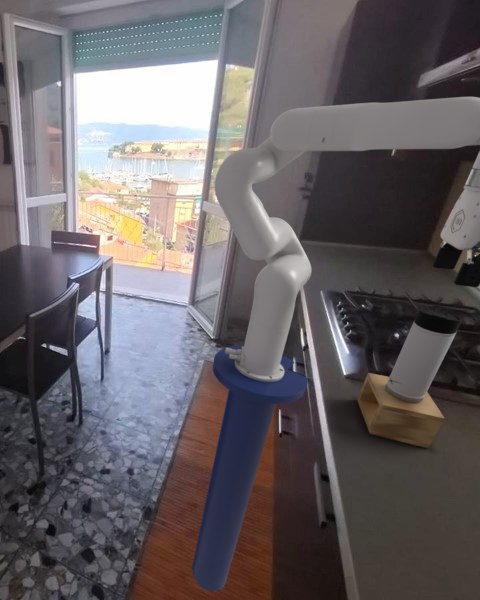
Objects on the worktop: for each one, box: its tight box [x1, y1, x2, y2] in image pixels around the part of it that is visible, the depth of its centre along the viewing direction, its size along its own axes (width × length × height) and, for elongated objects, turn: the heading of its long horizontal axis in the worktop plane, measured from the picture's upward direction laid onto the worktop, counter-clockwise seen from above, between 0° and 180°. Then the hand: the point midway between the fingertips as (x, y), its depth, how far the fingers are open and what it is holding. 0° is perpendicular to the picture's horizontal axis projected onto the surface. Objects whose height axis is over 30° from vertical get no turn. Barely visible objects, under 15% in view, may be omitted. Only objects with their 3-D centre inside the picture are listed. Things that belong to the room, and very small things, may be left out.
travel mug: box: [386, 307, 463, 403], centre depth 73 cm, size 6×7×20 cm
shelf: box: [356, 372, 445, 449], centre depth 79 cm, size 10×12×8 cm
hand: (453, 276), depth 67 cm, fingers open, 9 cm apart
